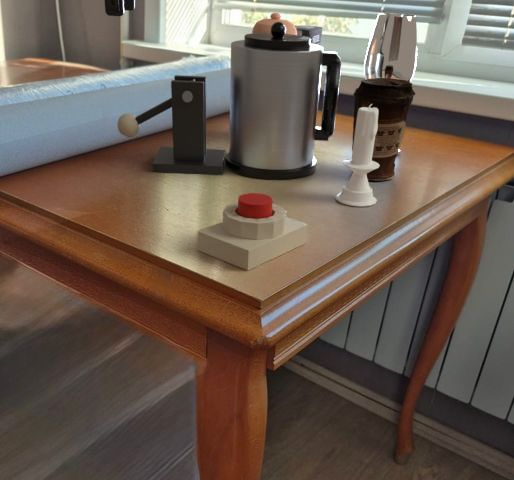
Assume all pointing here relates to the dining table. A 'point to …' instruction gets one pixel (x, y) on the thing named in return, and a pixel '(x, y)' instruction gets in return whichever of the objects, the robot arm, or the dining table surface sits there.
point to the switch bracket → (189, 132)
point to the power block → (251, 237)
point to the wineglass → (392, 48)
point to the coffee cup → (385, 119)
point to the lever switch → (140, 118)
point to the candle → (361, 160)
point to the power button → (255, 206)
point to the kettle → (279, 104)
